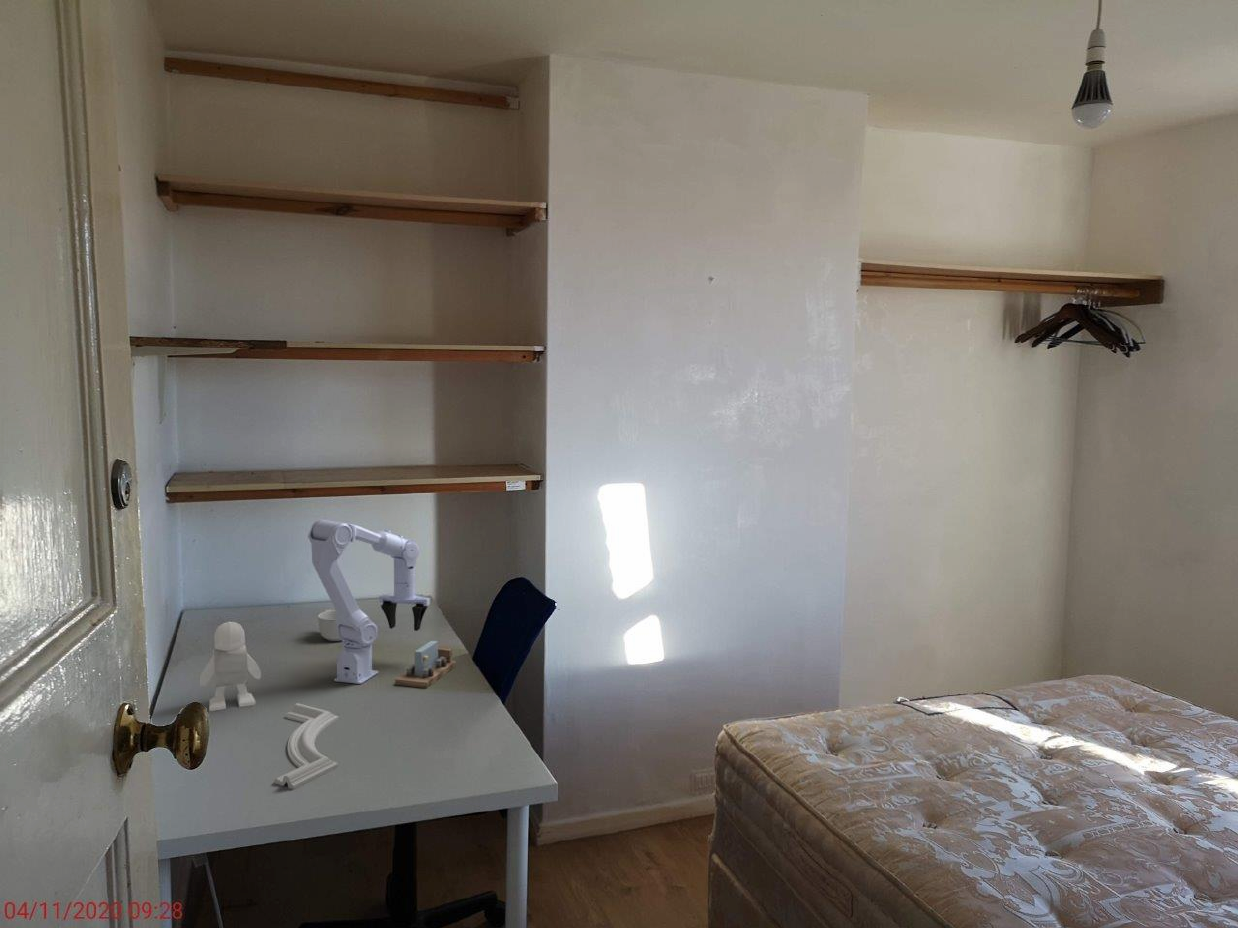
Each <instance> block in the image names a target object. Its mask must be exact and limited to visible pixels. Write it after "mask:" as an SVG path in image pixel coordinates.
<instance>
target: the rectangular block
mask: <svg viewBox="0 0 1238 928" xmlns="http://www.w3.org/2000/svg"><path fill="white" fill-rule="evenodd" d="M438 647H439V641H438V640H430V641H429V642H427V643H426V644H424V645H422V646H421V647H419V648H418V649H416V650H415V651H414V664H415V676H423V669H425V668H426V667H428V666H433V668H434V667H435V666H436V660H438Z"/></svg>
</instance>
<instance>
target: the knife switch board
mask: <svg viewBox="0 0 1238 928" xmlns="http://www.w3.org/2000/svg"><path fill="white" fill-rule="evenodd" d="M456 667H457V660H453V648H449V647H447V648H446V647H439V646H438V660H436V666H435V667H434V668H433V666H428V667H426V668H425V669H423V676H415V663H412V664H411V665H409V666H408V667H407V668H406V671H405V672H404V673H402V674H401V675H399V676H397V677H396V678H395V679H394V682H395V683H394V684H395V685H396V686H404V687H412V688H413V687H414V688H425V689H427V688H429V687H431V686H432V685H433V684H434V683H436V682H437V681H438V680H440V679H441V678H443V677H444V676H445V675H446V674H448V673H449V672H450V671H451V670H453V669H454V668H456Z"/></svg>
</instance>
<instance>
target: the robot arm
mask: <svg viewBox="0 0 1238 928" xmlns="http://www.w3.org/2000/svg"><path fill="white" fill-rule="evenodd" d="M307 537H308V539H309V542H310V544H311V561H312V566H313V567H314V570H315V571H316V573H317V575H318V577H319V579H320V582H321V584H322V585H323V587H324V589H325V591H326V593H327V596H328V597H329V599H330V602H331V603H332V606H333V608H334V609H336V611H337V614H338V617H337V619H336V620H335V622H336V624H337V627H338V635H339V637H340V638H341V639H342V641H341V642H342V644H343V646H342V647H343V648H342V650H341V651H340V652H339V653H338V654H337V657H336V677H335V678H334V682H338V683H351V684H358V685H360V684H361V685H362V684H364V683H365V682H367V680H370V679H371V678H373V677H374V676H375V675H377V674H379V670H373V646H372V645H374V642H375V640H376V639H377V637H378V630H379V629H378V626H377V624H375V622H373V621H372V620H371V619H370V617H369V615H368V614H366V613H365V612H363V611H362V610H361V609H360V607H359V605H358V603H357V601H356V599H355V596H354V595H353V593H352V590H351V588H350V586H349V584H348V582H347V580H346V578H345V576H344V574H343V572H342V569H341V568H340V566H339V563H338V560H339V559H340V557H341V556H342V554H343V553H344V551H345V550H346V549H347V547H348V546H349V545H350V542H352V543H354V541H355V540H356V541H359V542H363V543H366V544H370V545H371V546H372V547H371V548H372V549H373V550H374V551H375V552H378V553H381V554H384V555H387V556H390V557H391V558H392V559H393V593H390V594H389V593H382V594H380V595H379V603H382V604H381V605H380V607H381V610H382V611H383V613H384V615H385V617H386V620H387V622H388V623H387V624H388V627H389V629H394V628H395V627H396V622H397V621H396V618H397V617H396V615H397V614H396V613H397V612H396V611H397V606H398V604H403V605H414V606H412V607H411V609H412V614H413V629H414V631H415V632H418V631H419V630H421V625H422V622H423V618H424V615H425V613H426V611H427V609H428V607H429V606H430V605H431V600H430V599H431V598H430V597H426V596H421V595H416V579H415V578H416V568H415V567H416V564H417V559H418V556H419V554H420V551H421V550H420V548H419V547H418V546H419V545H418V544H417V543H416V541H414V540H412V539H406V538H405V537H404V536H403V535H401V534H400V535H399V534H398V535H396V534H393V533H392V531H391V530H388V529H384V530H379V531H377V532H374V531H371V530H370V529H367V528H364V527H361V526H359V525H357V524H352V523H347V522H341V521H334V520H328V519H324V518H323V519H322V518H319V519H317V520H315V522H313V524H312V525H311V528H310V530H309V533H308V535H307Z"/></svg>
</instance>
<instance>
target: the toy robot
mask: <svg viewBox="0 0 1238 928" xmlns="http://www.w3.org/2000/svg"><path fill="white" fill-rule="evenodd" d="M213 638H214V643H213V645H214V648H212V649H213V650H212V657H211V658H210V660H209V661H208V662H207V664H206V665H205V667H204V668H203V670H202V672H201V674H200V677H199V679H198V680H199V686H200V688H203V687H205V686H206V685H207V684H208V683H209V682H210V680H211V678H212V677H213V686H214V688H215V693H214V695H213V697H212V698H209V705H208V707H209V708H208V709H209V712H214V711H221V710H226V709H227V707H226V697H225V690H226V689H227V687H228V686H233V685H235V687H236V688H237V691H238V692H237V694H236V700H237V703H238V707H239V708H241V707H250V706H255V705H256V699H255V698H254V696H253V694H252V692H248V690H247V686H246V684H248V678H249V677H248V674H249V673H250V674H251V676H252V677H253V678H254V679H256V680H261V679H262V671H261V669H260V667H259V665H258V664H257V662H256V661H255V660H254V659H253V658H252V657H251V655H249V653H248V651H247V646H246V635H245V630H244V628H243V626H242V625H241V623H239V622H238V623H237V622H235V621H227V622H223V623H222V624H219V626H217V628H216V630H215V632H214V637H213ZM248 672H249V673H248Z"/></svg>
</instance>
